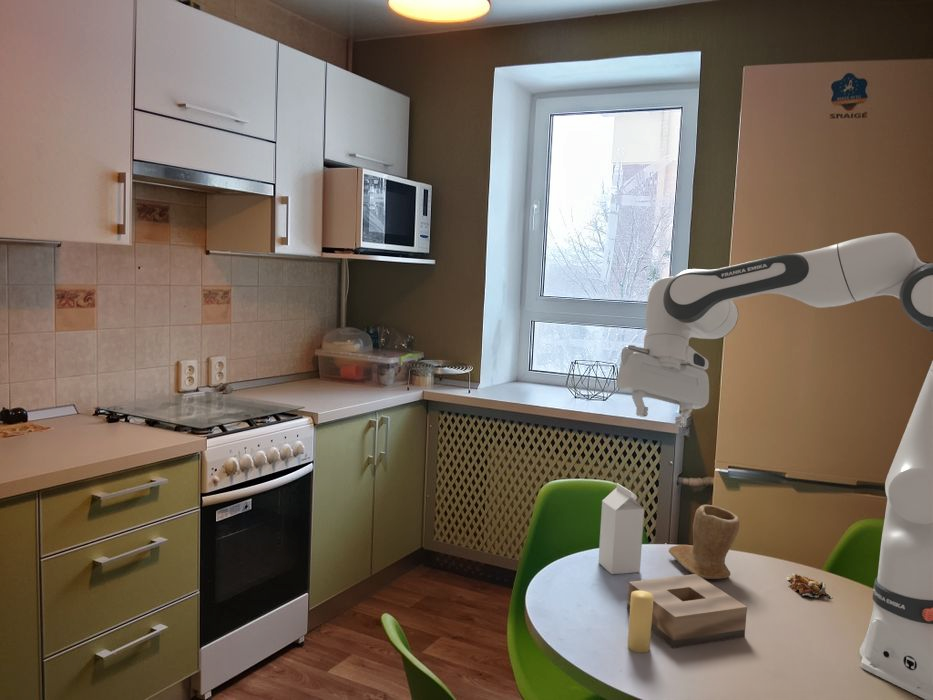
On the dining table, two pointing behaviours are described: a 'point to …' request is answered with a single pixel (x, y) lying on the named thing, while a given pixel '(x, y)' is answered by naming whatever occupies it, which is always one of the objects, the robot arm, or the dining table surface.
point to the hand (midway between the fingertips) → (661, 421)
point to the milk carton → (621, 532)
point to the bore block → (691, 610)
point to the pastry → (807, 586)
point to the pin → (640, 621)
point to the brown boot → (708, 543)
